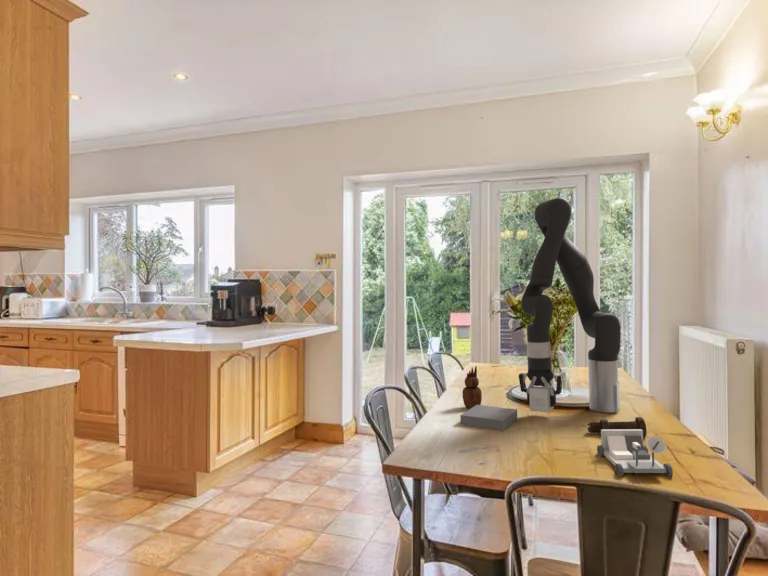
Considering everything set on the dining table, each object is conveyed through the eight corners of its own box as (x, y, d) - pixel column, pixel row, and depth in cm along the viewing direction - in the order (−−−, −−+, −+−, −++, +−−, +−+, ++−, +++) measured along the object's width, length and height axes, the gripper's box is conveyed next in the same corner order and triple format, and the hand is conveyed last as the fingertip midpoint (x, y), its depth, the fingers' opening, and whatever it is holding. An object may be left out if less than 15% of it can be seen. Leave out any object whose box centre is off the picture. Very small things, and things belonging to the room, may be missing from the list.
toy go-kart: (678, 440, 108) (623, 440, 109) (679, 484, 108) (624, 484, 109) (642, 417, 126) (596, 417, 127) (643, 454, 126) (597, 454, 127)
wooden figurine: (481, 405, 177) (480, 364, 177) (482, 410, 171) (481, 367, 171) (462, 405, 177) (461, 364, 177) (463, 410, 172) (462, 367, 171)
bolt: (588, 439, 143) (643, 439, 140) (591, 436, 139) (648, 435, 136) (585, 419, 146) (639, 419, 143) (587, 415, 142) (643, 414, 139)
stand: (517, 418, 160) (517, 409, 160) (503, 430, 148) (503, 420, 148) (476, 413, 167) (476, 404, 167) (460, 424, 155) (460, 415, 155)
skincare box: (548, 412, 156) (547, 389, 156) (529, 410, 160) (528, 388, 160) (554, 408, 161) (553, 385, 161) (535, 406, 165) (534, 384, 165)
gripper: (564, 354, 159) (566, 404, 160) (520, 352, 167) (522, 401, 167) (559, 357, 153) (562, 410, 153) (514, 356, 161) (516, 406, 161)
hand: (541, 405), depth 160 cm, fingers closed on skincare box, 6 cm apart
